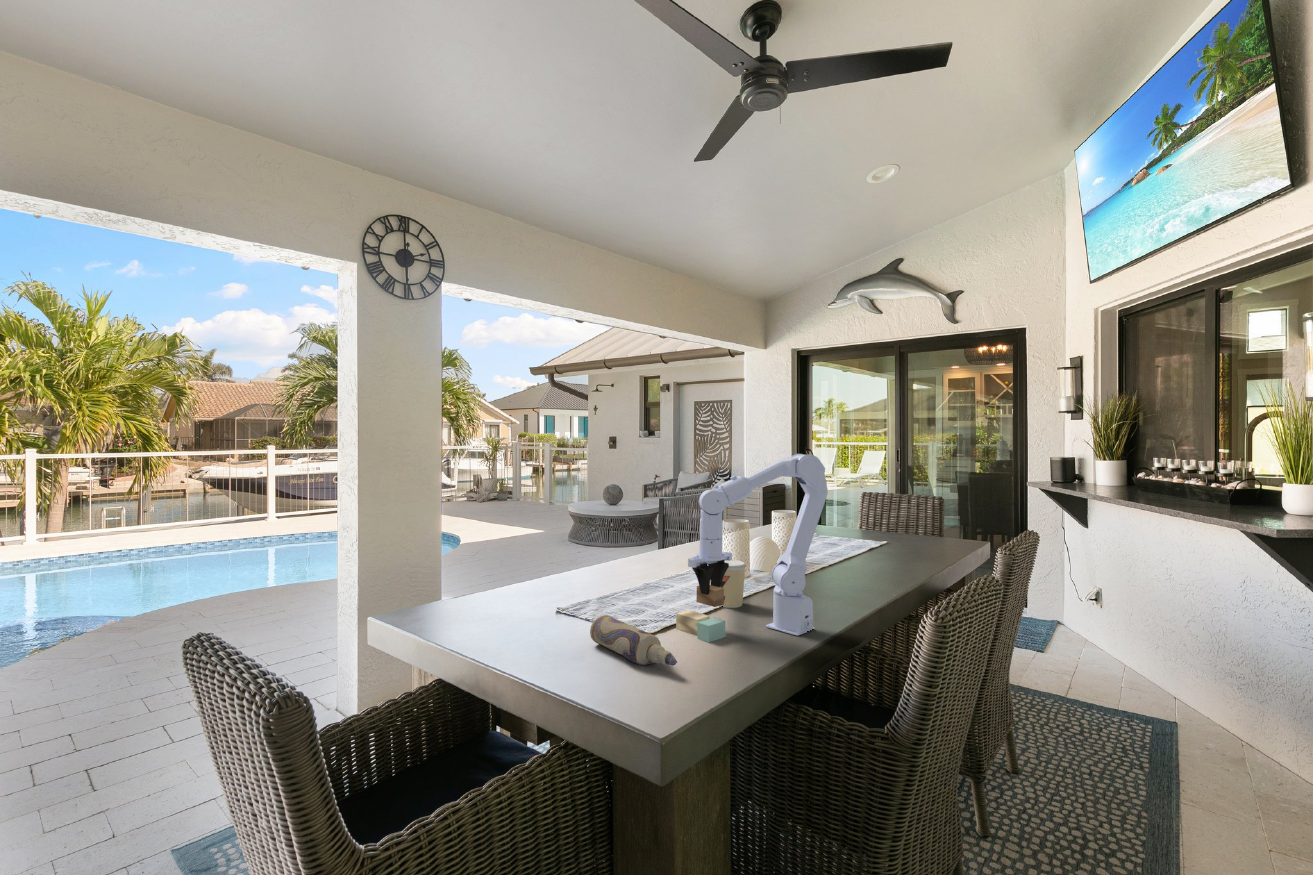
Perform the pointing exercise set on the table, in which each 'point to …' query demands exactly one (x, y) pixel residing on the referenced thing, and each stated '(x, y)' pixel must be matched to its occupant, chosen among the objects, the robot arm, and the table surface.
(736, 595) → the coffee cup
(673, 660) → the decorative bottle
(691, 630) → the maple block
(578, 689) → the table surface
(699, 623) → the teal block
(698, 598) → the walnut block
